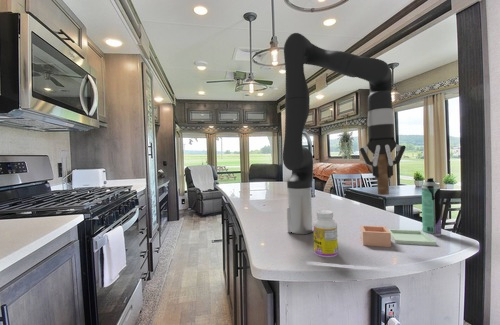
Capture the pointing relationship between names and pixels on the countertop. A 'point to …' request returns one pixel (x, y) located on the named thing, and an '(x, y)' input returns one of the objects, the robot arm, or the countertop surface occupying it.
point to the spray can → (431, 208)
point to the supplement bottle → (325, 234)
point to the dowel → (382, 175)
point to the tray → (411, 237)
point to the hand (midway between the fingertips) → (382, 177)
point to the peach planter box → (375, 236)
